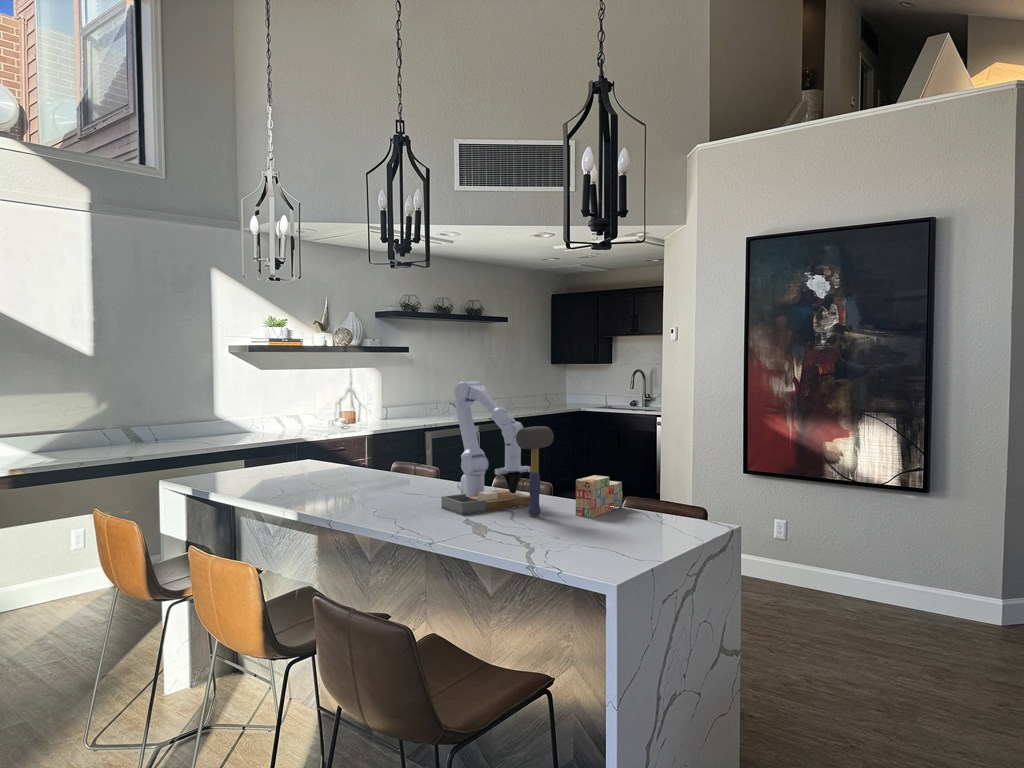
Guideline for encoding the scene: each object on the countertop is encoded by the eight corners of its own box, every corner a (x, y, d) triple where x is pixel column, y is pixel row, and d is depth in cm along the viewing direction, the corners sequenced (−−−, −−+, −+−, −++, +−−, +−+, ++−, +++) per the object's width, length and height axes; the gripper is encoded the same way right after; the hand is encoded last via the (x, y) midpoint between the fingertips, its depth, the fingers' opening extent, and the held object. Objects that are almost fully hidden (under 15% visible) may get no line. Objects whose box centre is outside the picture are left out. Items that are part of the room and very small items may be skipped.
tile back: (491, 496, 255) (491, 490, 255) (502, 494, 258) (502, 489, 258) (499, 498, 251) (499, 492, 251) (510, 496, 254) (510, 491, 254)
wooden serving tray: (465, 504, 254) (465, 496, 254) (511, 499, 266) (511, 491, 266) (487, 511, 243) (487, 502, 243) (533, 505, 254) (533, 496, 254)
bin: (441, 507, 249) (441, 496, 249) (465, 504, 254) (465, 493, 254) (462, 514, 237) (462, 502, 237) (486, 511, 243) (486, 499, 243)
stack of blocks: (606, 505, 255) (607, 471, 255) (622, 508, 251) (622, 473, 251) (575, 515, 238) (575, 479, 238) (591, 518, 234) (591, 481, 234)
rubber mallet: (530, 520, 229) (531, 428, 228) (513, 517, 234) (514, 426, 233) (554, 515, 238) (555, 425, 237) (538, 511, 243) (538, 424, 242)
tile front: (478, 497, 252) (478, 492, 252) (490, 496, 255) (490, 490, 255) (486, 499, 248) (486, 494, 248) (497, 498, 251) (498, 492, 251)
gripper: (502, 458, 250) (502, 496, 250) (535, 455, 258) (535, 492, 258) (491, 456, 255) (491, 493, 256) (524, 453, 264) (523, 489, 264)
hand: (512, 492), depth 258 cm, fingers closed
